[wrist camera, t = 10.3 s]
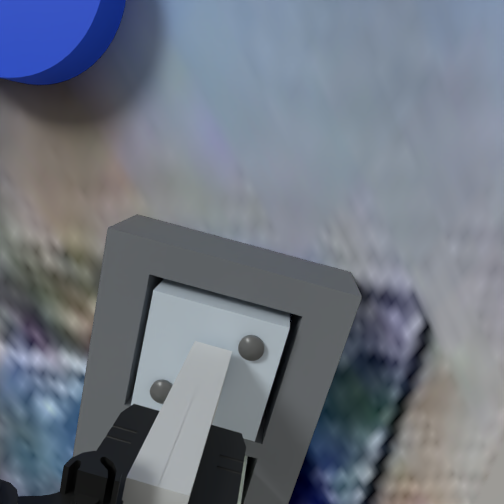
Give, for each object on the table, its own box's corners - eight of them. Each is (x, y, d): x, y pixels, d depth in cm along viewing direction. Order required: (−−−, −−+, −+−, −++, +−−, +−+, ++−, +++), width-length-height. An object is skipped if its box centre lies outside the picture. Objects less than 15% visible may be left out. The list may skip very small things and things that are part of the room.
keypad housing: (74, 573, 25) (46, 630, 22) (137, 214, 18) (107, 227, 15) (232, 619, 24) (224, 683, 21) (350, 272, 18) (362, 296, 15)
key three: (156, 363, 20) (128, 409, 17) (177, 264, 19) (151, 291, 15) (260, 392, 20) (254, 445, 16) (290, 295, 18) (289, 330, 15)
